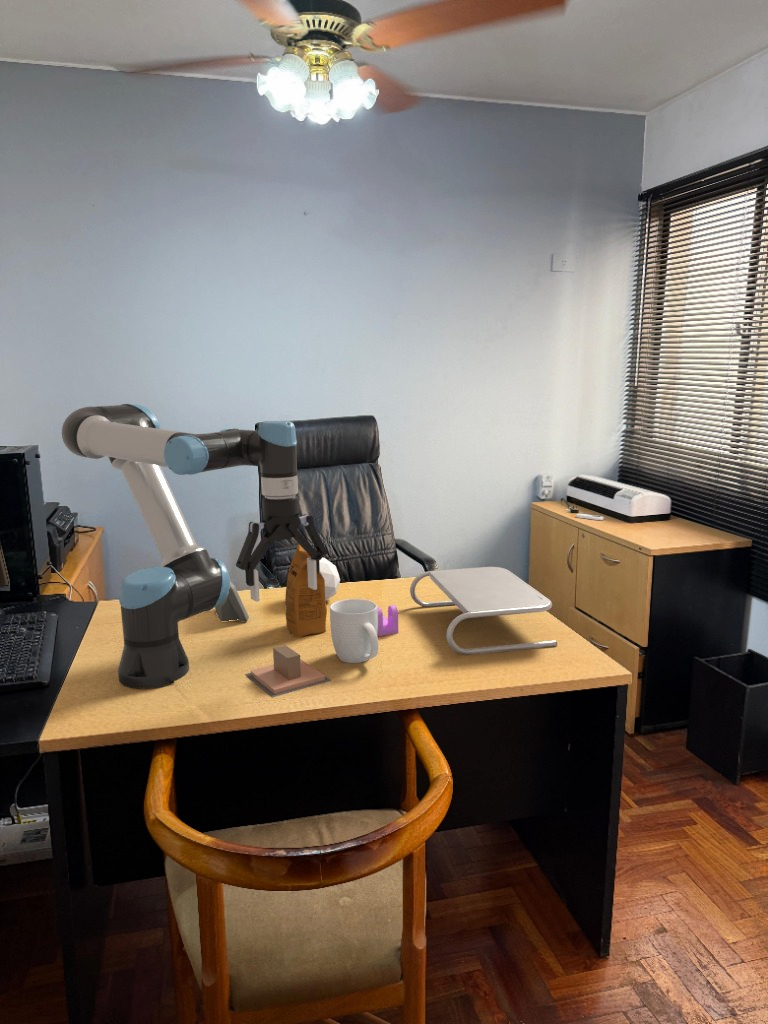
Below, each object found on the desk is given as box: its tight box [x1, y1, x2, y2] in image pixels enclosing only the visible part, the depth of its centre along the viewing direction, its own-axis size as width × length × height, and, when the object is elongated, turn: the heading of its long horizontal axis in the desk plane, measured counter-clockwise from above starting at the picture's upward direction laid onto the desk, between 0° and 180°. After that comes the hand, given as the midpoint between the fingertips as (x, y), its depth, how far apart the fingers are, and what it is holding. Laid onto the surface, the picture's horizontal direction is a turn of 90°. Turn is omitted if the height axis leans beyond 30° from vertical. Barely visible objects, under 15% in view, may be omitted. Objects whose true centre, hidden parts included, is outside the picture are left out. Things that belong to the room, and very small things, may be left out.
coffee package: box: [285, 544, 328, 638], centre depth 186 cm, size 10×12×22 cm
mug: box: [329, 598, 379, 664], centre depth 166 cm, size 15×11×13 cm
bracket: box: [377, 604, 399, 637], centre depth 189 cm, size 13×6×7 cm, turn 21°
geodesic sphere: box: [319, 557, 341, 602], centre depth 209 cm, size 14×14×14 cm
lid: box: [249, 644, 326, 694], centre depth 157 cm, size 12×12×6 cm
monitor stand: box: [409, 566, 558, 655], centre depth 189 cm, size 37×28×11 cm
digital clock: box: [214, 580, 250, 623], centre depth 199 cm, size 16×9×11 cm, turn 12°
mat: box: [244, 672, 332, 698], centre depth 158 cm, size 14×14×1 cm
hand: (284, 594), depth 154 cm, fingers open, 13 cm apart
